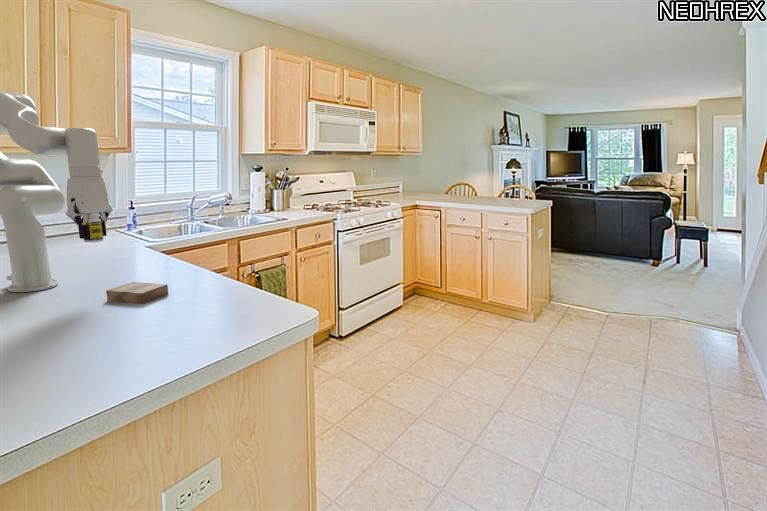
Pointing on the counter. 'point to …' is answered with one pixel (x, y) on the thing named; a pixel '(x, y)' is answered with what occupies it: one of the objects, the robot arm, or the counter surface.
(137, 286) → the walnut base
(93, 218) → the supplement bottle
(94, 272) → the counter surface
